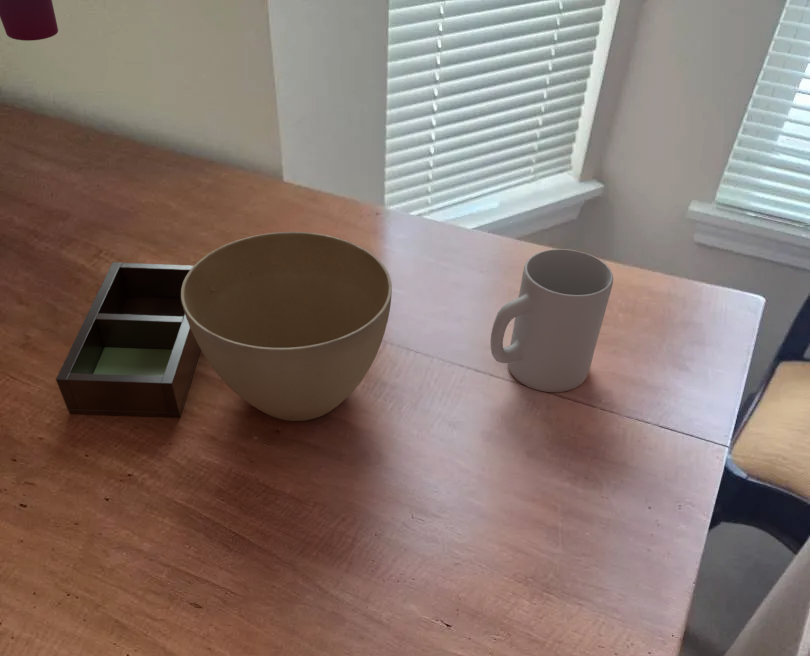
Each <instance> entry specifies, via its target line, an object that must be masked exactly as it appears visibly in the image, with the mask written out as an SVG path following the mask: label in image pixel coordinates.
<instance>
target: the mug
mask: <svg viewBox="0 0 810 656" xmlns="http://www.w3.org/2000/svg"><path fill="white" fill-rule="evenodd" d="M521 275H522V276H521V281H520V287H519V294H518V297H516V298H514V299H512V300H510V301H508V302H506V303H505V304H504V305H503V306H502V307H500V309H499V310H498V312H497V314H496V316H495V319H494V321H493V324H492V328H491V333H490V352H491V355H492V357H493V359H494V360H495V361H496V362H498V363H500V364H507V367H508V370H509V373H510V374H511V375H512V377H513V378H514V379H515V380H517V381H518V382H519V383H520V384H522V385H524V386H526V387H527V388H530V389H533V390H535V391H539V392H545V393H563V392H567V391H571V390H574V389H576V388H578V387H579V386H581V385H582V384H583V383H584V382H585V381H586V379H587V377H588V375H589V373H590V370H591V368H592V367H591V366H592V362H593V359H594V358H593V357H594V354H595V350H596V346H597V342H598V339H599V335H600V332H601V328H602V324H603V321H604V317H605V313H606V310H607V306H608V303H609V299H610V295H611V292H612V289H613V284H614V274H613V272H612V269H611V268H610V267H609V266H608V264H606V263H605V262H604V261H602V260H601V259H600V258H598V257H596V256H594V255H592V254H590V253H587V252H584V251H580V250H575V249H568V248H552V249H546V250H542V251H539V252H537V253H534V254H533V255H532V256H531V257H528V259H527V260H526V262H525V264H524V266H523V270H522V274H521ZM513 319H514V320H513ZM512 320H513V321H514V322H513V328H512V334H511V339H510V344H509V345H508V346H506V347H504V337H505V333H506V330H507V328H508V326H509V324H510V322H511V321H512Z"/></svg>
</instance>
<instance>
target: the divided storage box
mask: <svg viewBox="0 0 810 656" xmlns="http://www.w3.org/2000/svg"><path fill="white" fill-rule="evenodd" d="M193 266H194V265H191V264H189V265H187V264H162V263H161V264H160V263H139V262H138V263H137V262H119V261H118V262H117V261H113V262H112V263H111V264H110V266H109V268H108V271H107V272H106V275H105V277H104V279H103V281H102V283H101V285H100V287H99V289H98V290H97V293H96V295H95V297H94V299H93V302H92V303H91V306H90V308H89V310H88V312H87V314H86V316H85V318H84V320H83V323H82V324H81V327H80V329H78V333H77V335H76V337H75V338H74V341H73V343H72V344H71V347H70V349H69V351H68V353H67V355H66V357H65V360H64V361H63V364H62V366H61V367H60V370H59V371H58V374H57V376H56V378H55V382H56V383H57V386H58V389H59V391H60V394H61V396H62V398H63V401H64V403H65V406H66V409H67V411H68V414H69V415H93V416H94V415H95V416H120V417H153V418H177V419H178V418H181V416H182V414H183V411H184V407H185V404H186V400H187V398H188V394H189V392H190V391H189V390H190V388H191V384H192V380H193V377H194V373H195V371H196V367H197V363H198V361H199V358H200V354H201V352H202V350H201V349H200V347H199V345H198V343H197V341H196V339H195V337H194V335H193V333H192V331H191V328H190V326H189V324H188V321H187V318H186V315H185V312H184V309H183V305H182V300H181V288H182V284H183V281H184V279H185V277H186V275H187V274H188V272H189V271H190V270H191V268H192V267H193Z"/></svg>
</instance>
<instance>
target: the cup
mask: <svg viewBox="0 0 810 656" xmlns="http://www.w3.org/2000/svg"><path fill="white" fill-rule="evenodd" d="M0 21H1V23H2V27H3V28H4V31H5V34H6V36H7V37H8V38H10V39H13V40H16V41H26V42H27V41H28V42H29V41H30V42H31V41H40V40H41V41H42V40H45V39H49V38H52V37H54V36H56V35H57V34H58V33H59V27H58V22H57V18H56V13H55V9H54V5H53V0H0Z"/></svg>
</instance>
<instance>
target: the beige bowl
mask: <svg viewBox="0 0 810 656" xmlns="http://www.w3.org/2000/svg"><path fill="white" fill-rule="evenodd" d="M192 266H193V267H192V268H191V270H190V271H189V272H188V274H187V275H186V277H185V279H184V281H183V284H182V288H181V300H182V305H183V309H184V312H185V315H186V318H187V321H188V324H189V326H190V328H191V331H192V333H193V335H194V337H195V339H196V341H197V343H198V345H199V347H200V349H201V352H202V354H203V356H204V357H205V359H206V361H207V362H208V363H209V365H210V367H211V368H212V369H213V370H214V371H215V373H216V374H217V375H218V377H220V379H221V381H222V382H224V383H225V385H226V386H227V387H228V388H229V389H230V390H231V391H232V392H233V393H235V394H236V395H237V396H238V397H239V398H241V399H242V400H243V401H245V402H246V403H248V404H249V405H251V406H252V407H254V408H255V409H256V410H259V411H261V412H262V413H264V414H266V415H268V416H270V417H272V418H275V419H279V420H283V421H288V422H303V421H311V420H313V419H318V418H319V417H323V416H325V415H326V414H328V413H330V412H331V411H332V410H334V409H335V408H337V407H338V406H339V405H341V404H342V403H343V402H344V401H345V400H346V399H347V398H348V397H349V396H350V395H351V394H352V393H353V392H354V391H355V390H356V389H357V387H358V386H359V385H360V384H361V382H362V381H363V380H364V378H365V377H366V375H367V374H368V372H369V370H370V369H371V367H372V365H373V364H374V362H375V359H376V357H377V355H378V353H379V350H380V348H381V345H382V343H383V339H384V335H385V333H386V328H387V326H388V325H387V324H388V321H389V316H390V312H391V305H392V294H393V284H392V279H391V276H390V273H389V271H388V270H387V268H386V266H385V264H384V263H383V262H382V261H381V260H380V259H379V258H378V257H377V256H375V255H374V254H373V253H372V252H370V251H369V250H367V249H365V248H364V247H362V246H360V245H358V244H355V243H353V242H351V241H349V240H346V239H344V238H340V237H336V236H333V235H328V234H323V233H315V232H308V231H307V232H305V231H279V232H277V231H276V232H267V233H261V234H256V235H251V236H247V237H244V238H240V239H236V240H234V241H231V242H229V243H226V244H224V245H222V246H220V247H218V248H216V249H214V250H213V251H210V252H208V254H206V255H205V256H203V257H202V258H201V259H200V260H198V261H197V262H196V263H195V264H193V265H192Z"/></svg>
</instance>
